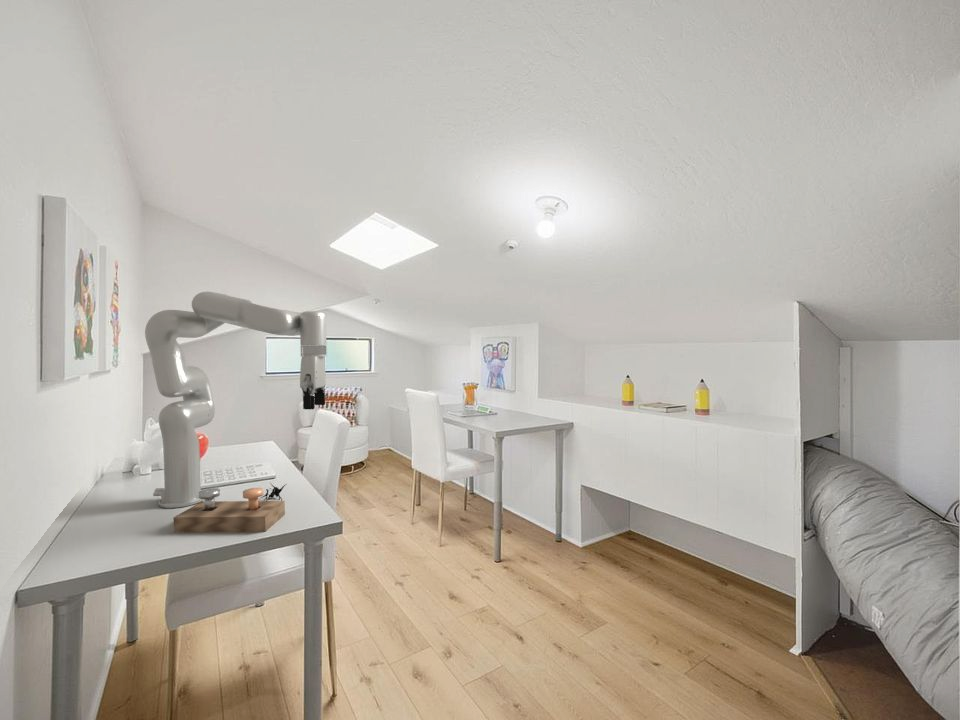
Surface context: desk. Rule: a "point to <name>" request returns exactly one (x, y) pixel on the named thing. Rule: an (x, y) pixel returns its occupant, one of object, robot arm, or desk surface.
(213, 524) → the block
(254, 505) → the terracotta plug
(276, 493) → the creature
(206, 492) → the grey plug
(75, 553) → the desk surface
